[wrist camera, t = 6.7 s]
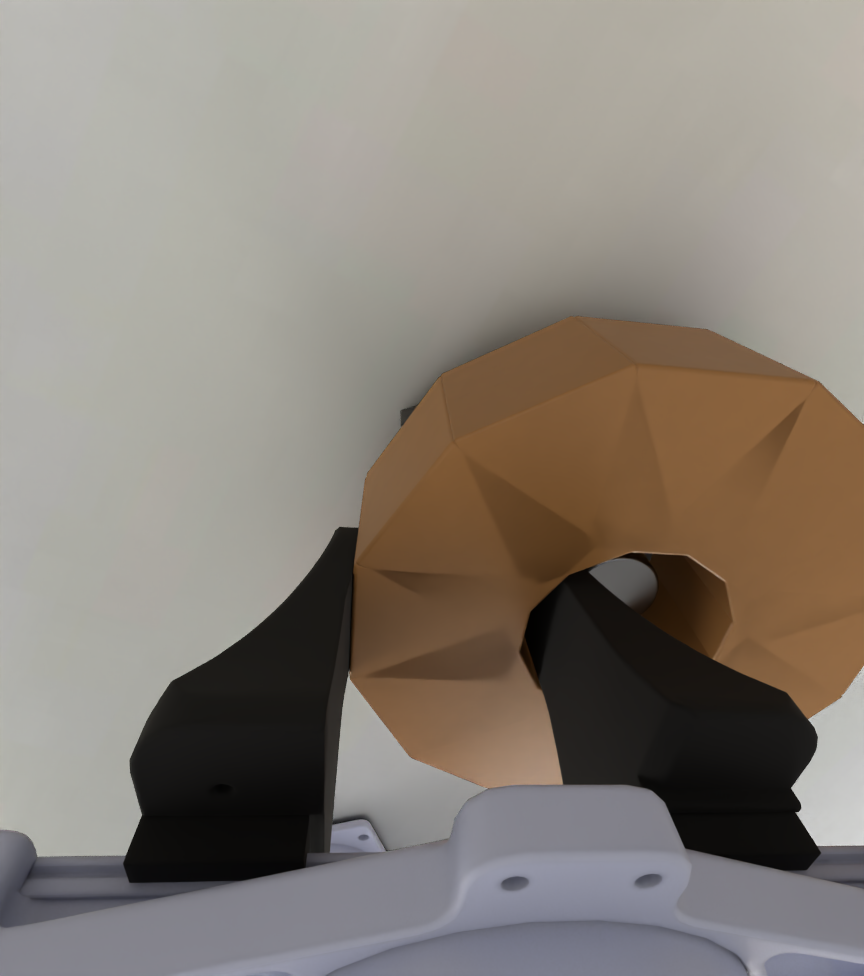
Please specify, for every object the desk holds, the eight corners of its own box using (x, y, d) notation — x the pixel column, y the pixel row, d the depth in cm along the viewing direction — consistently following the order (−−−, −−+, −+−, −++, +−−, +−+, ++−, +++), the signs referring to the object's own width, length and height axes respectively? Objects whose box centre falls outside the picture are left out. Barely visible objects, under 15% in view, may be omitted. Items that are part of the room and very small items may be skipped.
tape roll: (884, 346, 13) (1052, 403, 10) (704, 692, 20) (769, 801, 16) (374, 294, 12) (362, 337, 9) (355, 680, 18) (343, 794, 15)
